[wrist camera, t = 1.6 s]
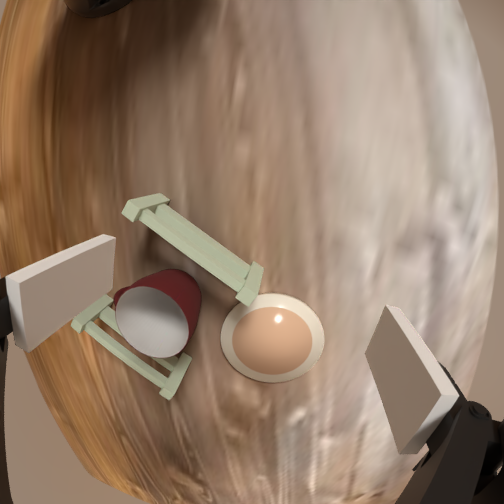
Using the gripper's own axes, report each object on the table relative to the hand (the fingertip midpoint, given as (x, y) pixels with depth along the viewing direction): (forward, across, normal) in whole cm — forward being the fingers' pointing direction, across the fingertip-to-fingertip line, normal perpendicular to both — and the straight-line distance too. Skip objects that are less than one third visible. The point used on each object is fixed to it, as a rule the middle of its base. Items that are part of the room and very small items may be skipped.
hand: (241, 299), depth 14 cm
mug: (+22, -10, -11) cm, 26 cm away
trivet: (+22, +4, -14) cm, 26 cm away
